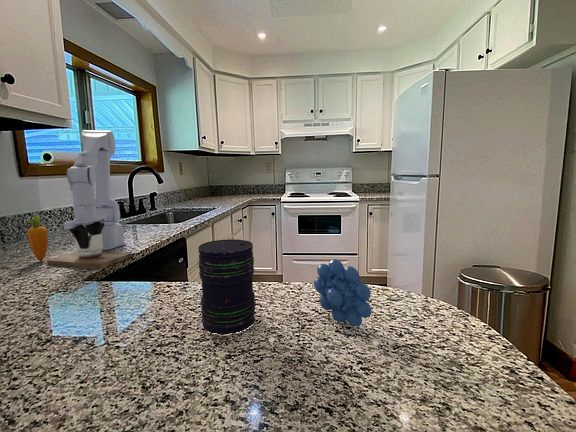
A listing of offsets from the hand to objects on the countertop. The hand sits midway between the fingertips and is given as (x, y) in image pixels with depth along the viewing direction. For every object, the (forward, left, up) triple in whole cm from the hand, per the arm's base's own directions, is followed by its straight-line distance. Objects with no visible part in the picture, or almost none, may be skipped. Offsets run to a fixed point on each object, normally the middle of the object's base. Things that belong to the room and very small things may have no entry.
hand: (89, 246), depth 97 cm
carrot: (+4, -16, -5) cm, 17 cm away
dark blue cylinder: (+26, +62, -5) cm, 67 cm away
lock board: (0, 0, -5) cm, 5 cm away
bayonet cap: (0, 0, -3) cm, 3 cm away
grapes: (+22, +82, -5) cm, 85 cm away
